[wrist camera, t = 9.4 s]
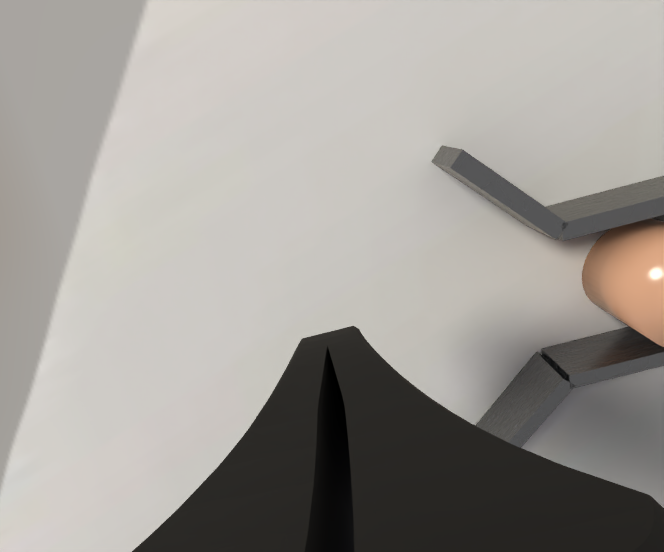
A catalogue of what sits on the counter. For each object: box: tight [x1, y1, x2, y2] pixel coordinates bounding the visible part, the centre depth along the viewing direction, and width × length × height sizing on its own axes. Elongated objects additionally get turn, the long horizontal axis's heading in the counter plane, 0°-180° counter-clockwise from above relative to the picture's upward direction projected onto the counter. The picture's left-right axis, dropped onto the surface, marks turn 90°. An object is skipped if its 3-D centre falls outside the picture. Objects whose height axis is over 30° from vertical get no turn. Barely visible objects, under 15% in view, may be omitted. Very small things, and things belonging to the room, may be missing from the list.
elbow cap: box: [582, 218, 664, 347], centre depth 19 cm, size 5×5×4 cm
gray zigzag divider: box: [432, 146, 664, 448], centre depth 20 cm, size 17×13×2 cm
